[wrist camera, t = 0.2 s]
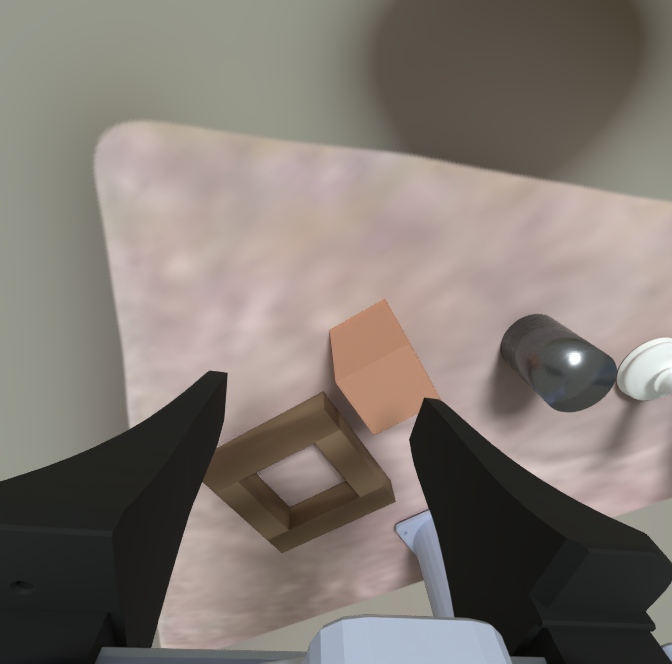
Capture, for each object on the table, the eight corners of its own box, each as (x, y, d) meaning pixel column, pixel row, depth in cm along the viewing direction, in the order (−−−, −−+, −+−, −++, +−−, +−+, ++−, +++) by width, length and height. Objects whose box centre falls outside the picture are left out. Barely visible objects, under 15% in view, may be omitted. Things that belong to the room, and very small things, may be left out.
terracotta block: (412, 346, 24) (442, 401, 18) (359, 374, 24) (373, 435, 19) (384, 298, 22) (408, 343, 17) (329, 329, 23) (335, 382, 17)
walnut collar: (390, 480, 29) (395, 501, 27) (283, 530, 31) (281, 552, 29) (323, 391, 25) (324, 409, 23) (204, 455, 27) (196, 476, 25)
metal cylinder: (566, 349, 25) (623, 391, 20) (511, 376, 25) (554, 422, 21) (550, 303, 23) (609, 338, 19) (492, 333, 24) (535, 373, 19)
